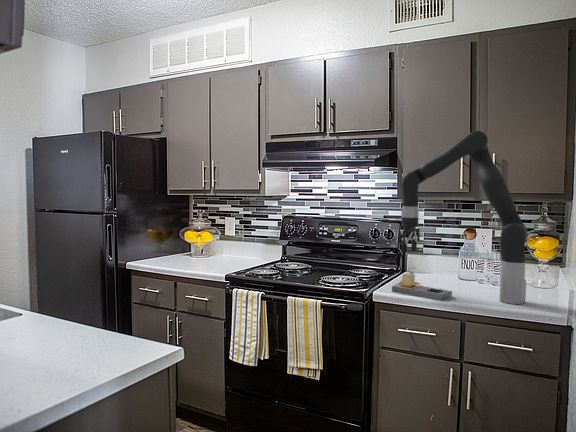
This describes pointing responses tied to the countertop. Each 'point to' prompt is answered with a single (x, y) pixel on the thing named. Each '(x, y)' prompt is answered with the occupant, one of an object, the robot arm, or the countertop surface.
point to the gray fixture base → (423, 292)
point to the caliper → (401, 280)
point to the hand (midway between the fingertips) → (409, 251)
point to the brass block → (408, 280)
